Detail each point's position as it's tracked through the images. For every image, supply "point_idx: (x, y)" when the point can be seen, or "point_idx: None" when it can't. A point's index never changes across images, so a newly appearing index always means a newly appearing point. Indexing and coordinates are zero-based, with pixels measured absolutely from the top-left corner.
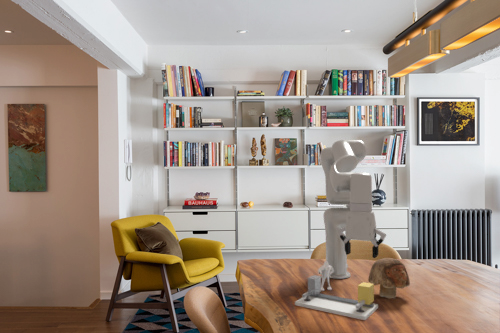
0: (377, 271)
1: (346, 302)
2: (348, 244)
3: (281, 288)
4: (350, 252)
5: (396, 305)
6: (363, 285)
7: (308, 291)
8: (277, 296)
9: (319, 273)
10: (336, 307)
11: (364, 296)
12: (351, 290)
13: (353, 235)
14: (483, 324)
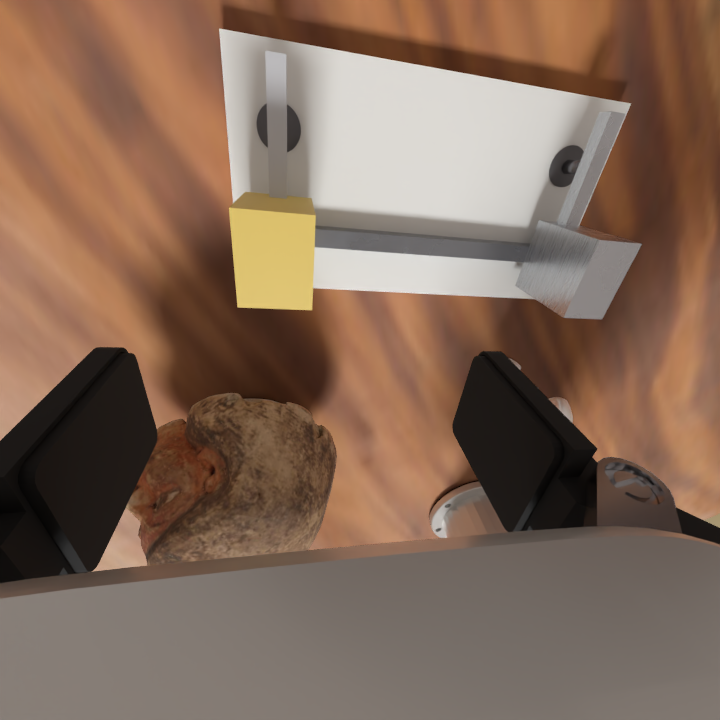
0: (271, 460)
1: (379, 231)
2: (536, 466)
3: (662, 307)
4: (455, 429)
5: (188, 346)
6: (281, 235)
7: (587, 196)
8: (691, 197)
9: (556, 397)
10: (410, 122)
11: (271, 200)
12: (398, 414)
13: (625, 705)
14: None
